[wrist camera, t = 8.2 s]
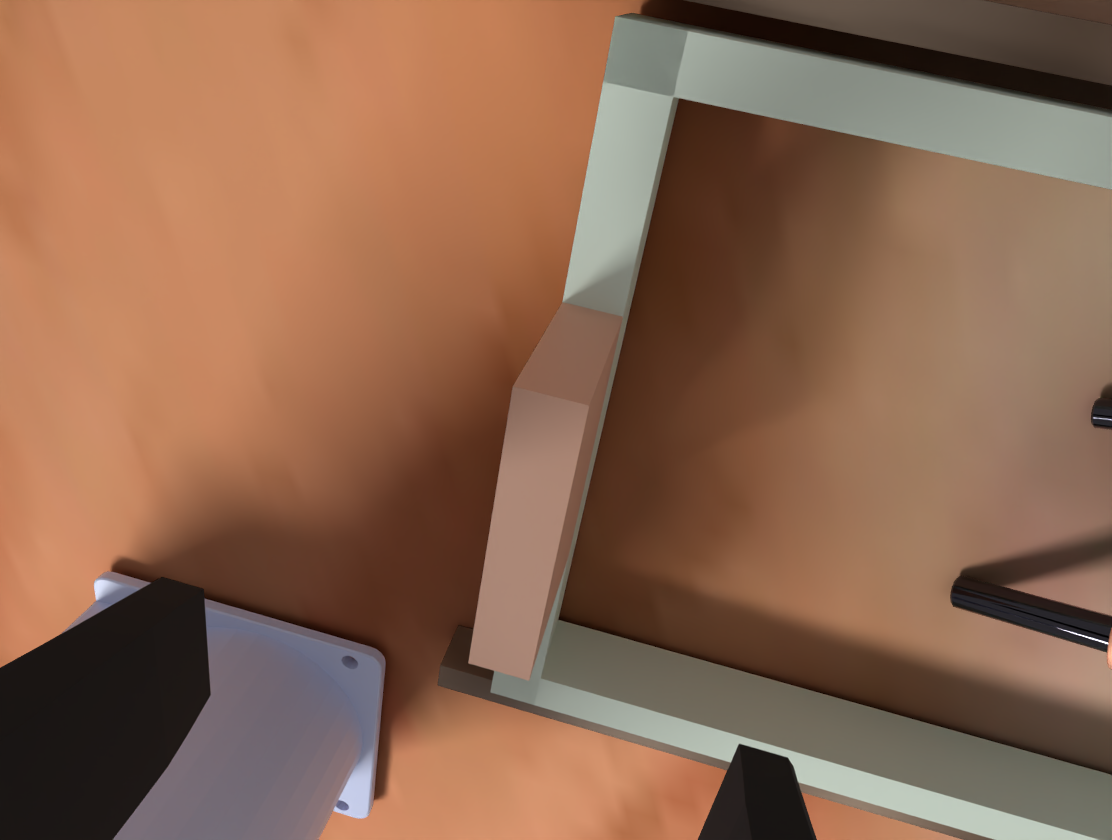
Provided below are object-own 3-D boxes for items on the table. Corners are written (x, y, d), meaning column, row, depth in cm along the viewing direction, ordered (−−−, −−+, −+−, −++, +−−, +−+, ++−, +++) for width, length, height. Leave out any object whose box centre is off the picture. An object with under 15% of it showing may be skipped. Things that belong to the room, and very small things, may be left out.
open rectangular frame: (511, 633, 23) (442, 822, 18) (632, 13, 15) (570, 25, 10) (1225, 836, 21) (1381, 1113, 16) (1800, 248, 13) (2494, 421, 8)
